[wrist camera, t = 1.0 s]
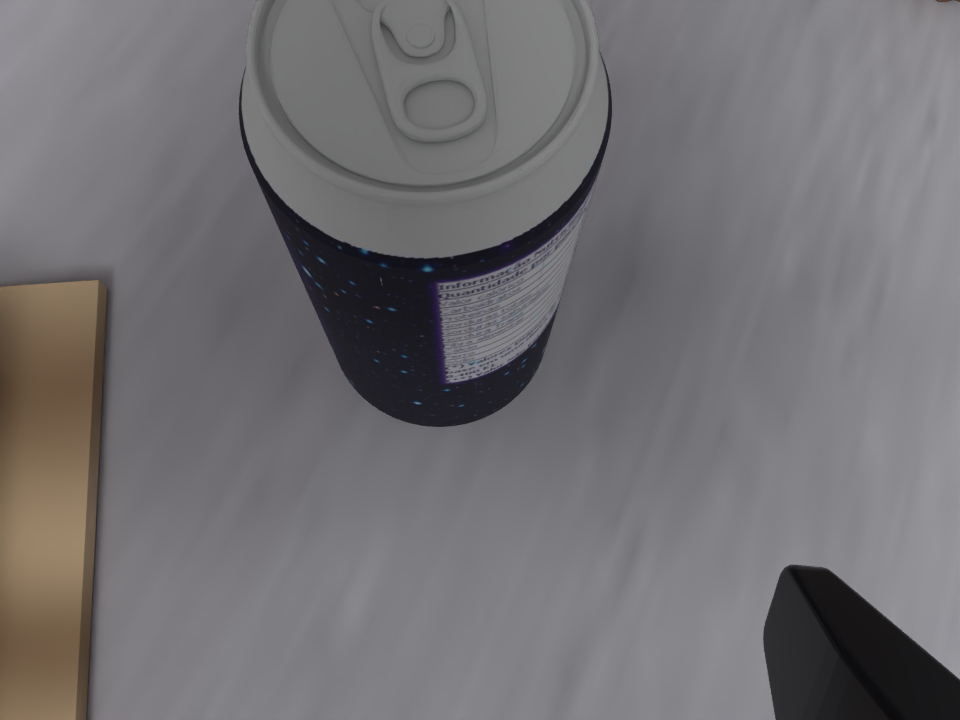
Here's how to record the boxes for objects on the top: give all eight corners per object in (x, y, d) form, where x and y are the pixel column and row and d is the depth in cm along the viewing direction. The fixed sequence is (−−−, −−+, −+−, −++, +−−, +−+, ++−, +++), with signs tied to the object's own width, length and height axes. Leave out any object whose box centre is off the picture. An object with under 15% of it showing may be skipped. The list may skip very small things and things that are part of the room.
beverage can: (515, 219, 24) (564, -148, 13) (569, 407, 23) (681, 176, 11) (318, 261, 24) (187, -83, 12) (359, 457, 22) (251, 268, 11)
